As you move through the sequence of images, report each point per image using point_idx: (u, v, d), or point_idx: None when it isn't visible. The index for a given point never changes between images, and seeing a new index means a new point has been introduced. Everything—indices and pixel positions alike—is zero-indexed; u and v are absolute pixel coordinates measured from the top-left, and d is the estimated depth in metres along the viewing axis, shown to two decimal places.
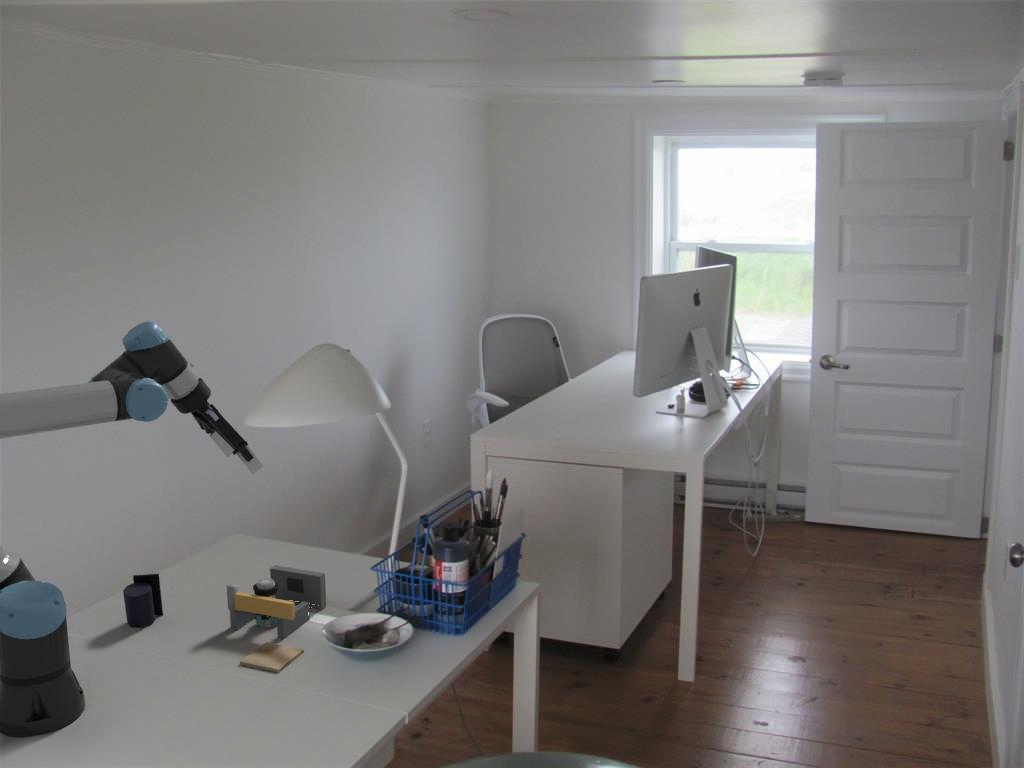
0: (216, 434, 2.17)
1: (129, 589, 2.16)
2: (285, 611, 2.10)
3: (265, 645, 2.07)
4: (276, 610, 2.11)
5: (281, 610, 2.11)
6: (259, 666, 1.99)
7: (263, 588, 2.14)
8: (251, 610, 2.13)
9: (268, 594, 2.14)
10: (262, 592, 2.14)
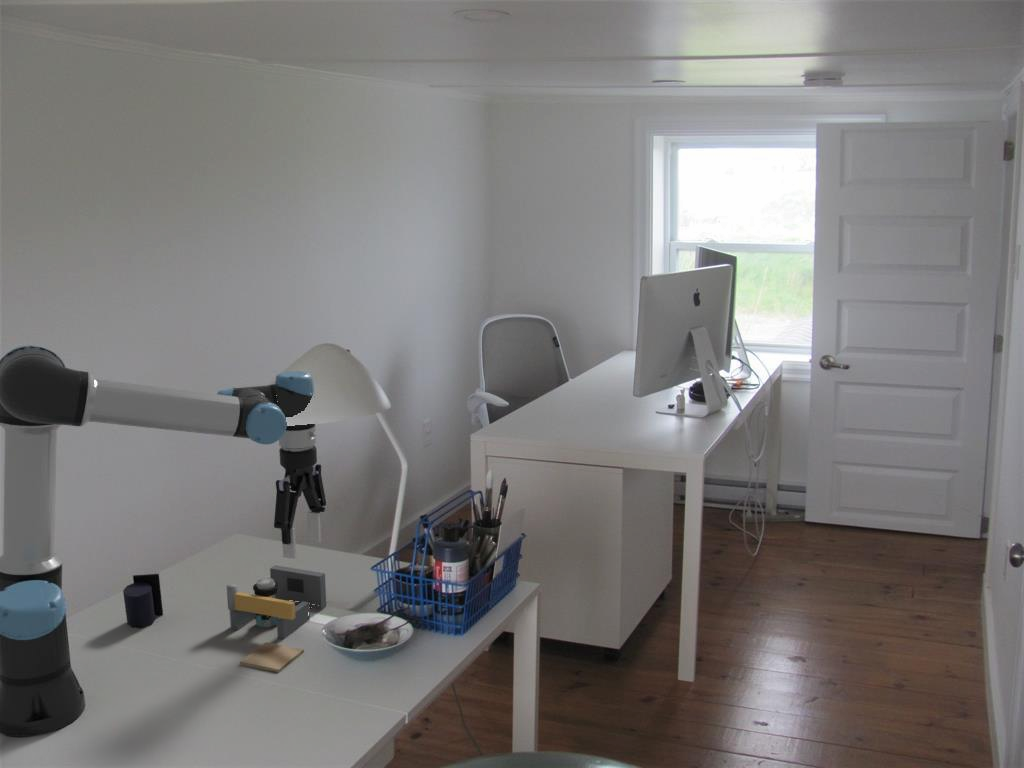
0: (312, 515, 2.17)
1: (129, 589, 2.16)
2: (285, 611, 2.10)
3: (265, 645, 2.07)
4: (276, 610, 2.11)
5: (281, 610, 2.11)
6: (259, 666, 1.99)
7: (263, 588, 2.14)
8: (251, 610, 2.13)
9: (268, 594, 2.14)
10: (262, 592, 2.14)
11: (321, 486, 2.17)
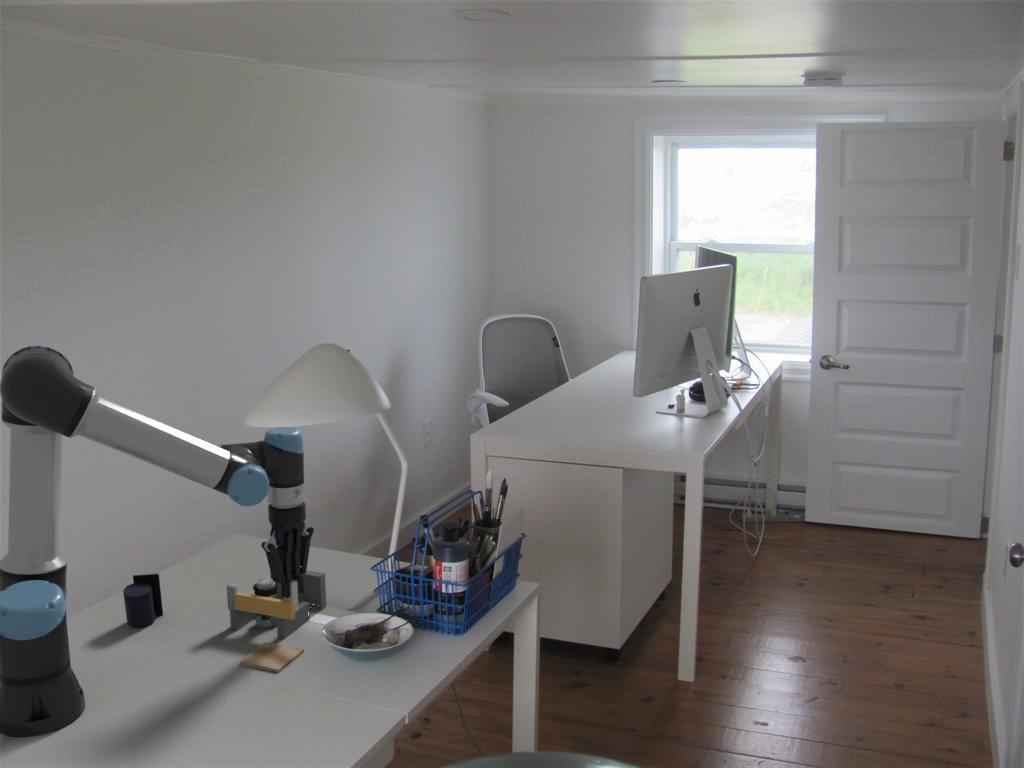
0: None
1: (129, 589, 2.16)
2: (285, 611, 2.10)
3: (265, 645, 2.07)
4: (276, 610, 2.11)
5: (281, 610, 2.11)
6: (259, 666, 1.99)
7: (263, 588, 2.14)
8: (251, 610, 2.13)
9: (268, 594, 2.14)
10: (262, 592, 2.14)
11: (306, 551, 2.13)
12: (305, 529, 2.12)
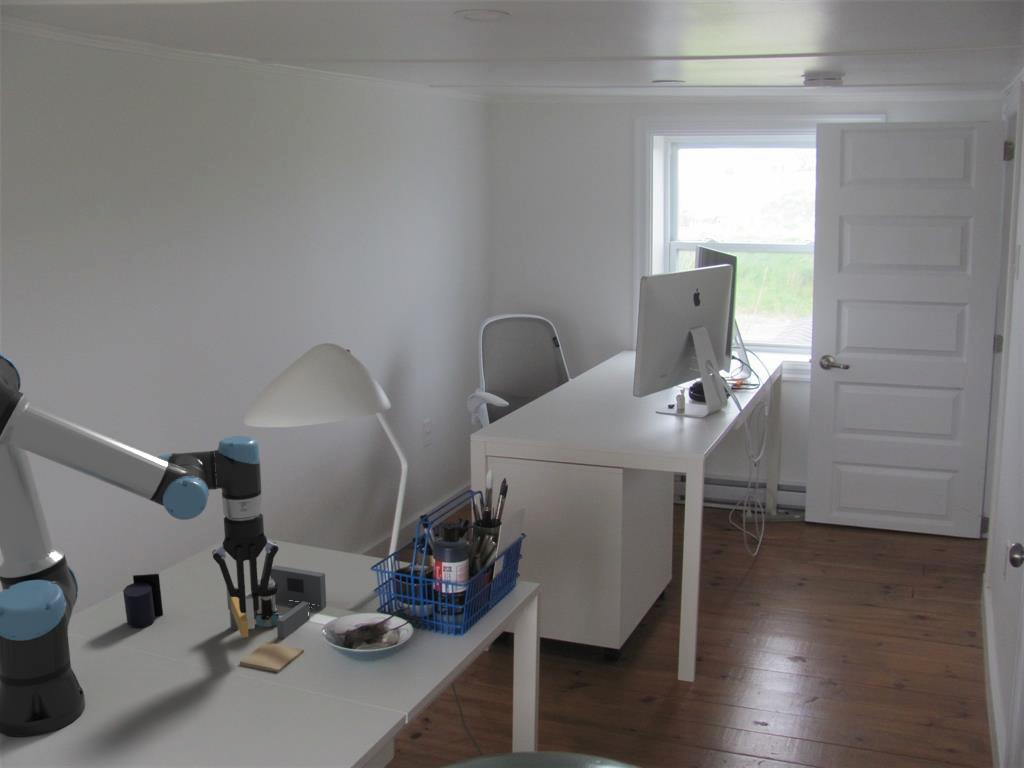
0: None
1: (129, 589, 2.16)
2: (240, 626, 2.03)
3: (265, 645, 2.07)
4: (238, 622, 2.05)
5: (239, 624, 2.04)
6: (259, 666, 1.99)
7: None
8: (234, 615, 2.11)
9: (268, 594, 2.14)
10: None
11: (268, 569, 2.02)
12: (269, 546, 2.02)
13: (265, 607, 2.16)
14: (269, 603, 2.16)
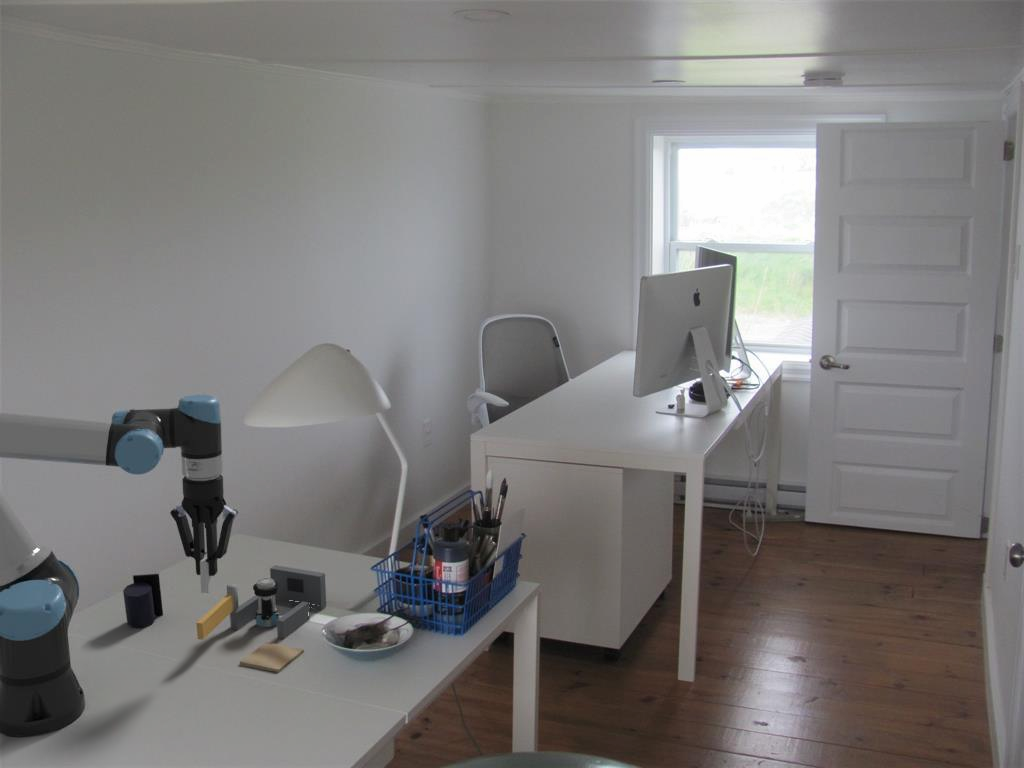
0: None
1: (129, 589, 2.16)
2: None
3: (265, 645, 2.07)
4: None
5: None
6: (259, 666, 1.99)
7: (263, 588, 2.14)
8: None
9: (268, 594, 2.14)
10: (262, 592, 2.14)
11: (222, 535, 1.96)
12: (226, 512, 1.96)
13: (265, 607, 2.16)
14: (269, 603, 2.16)
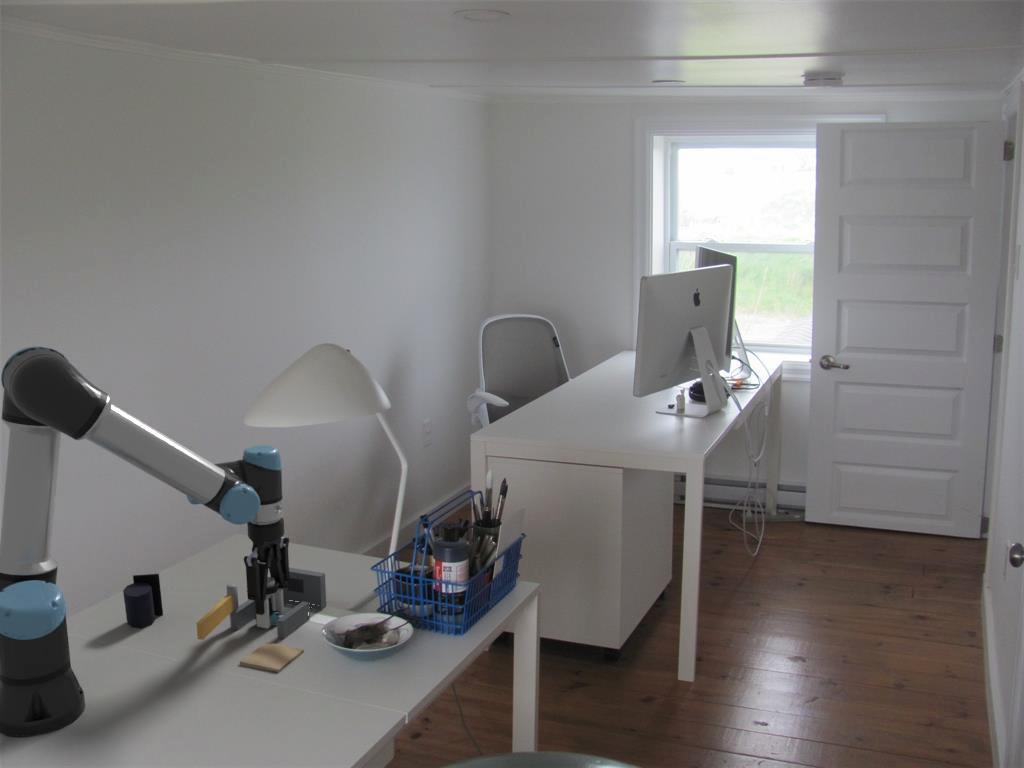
0: None
1: (129, 589, 2.16)
2: None
3: (265, 645, 2.07)
4: None
5: None
6: (259, 666, 1.99)
7: None
8: None
9: (268, 592, 2.15)
10: None
11: (286, 560, 2.20)
12: (281, 541, 2.19)
13: None
14: (269, 602, 2.17)
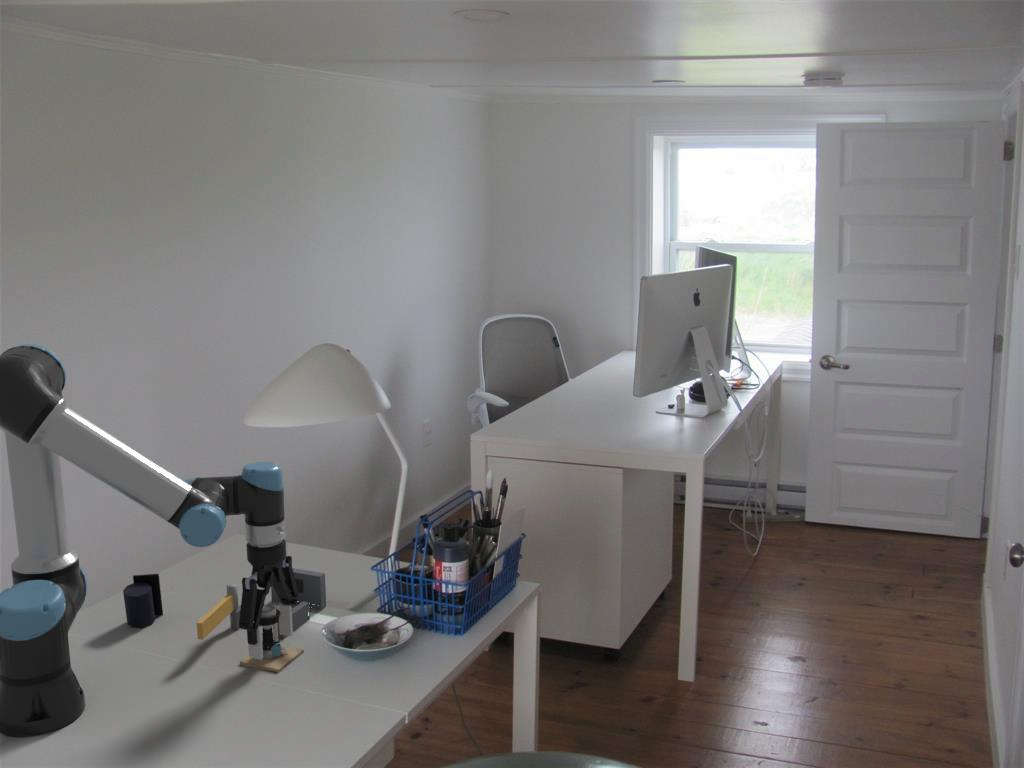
0: (283, 608, 2.06)
1: (129, 589, 2.16)
2: None
3: None
4: None
5: None
6: (259, 666, 1.99)
7: (264, 616, 1.99)
8: None
9: (269, 623, 1.99)
10: (263, 621, 1.99)
11: (292, 578, 2.06)
12: (283, 561, 2.04)
13: (266, 637, 2.01)
14: (270, 632, 2.01)
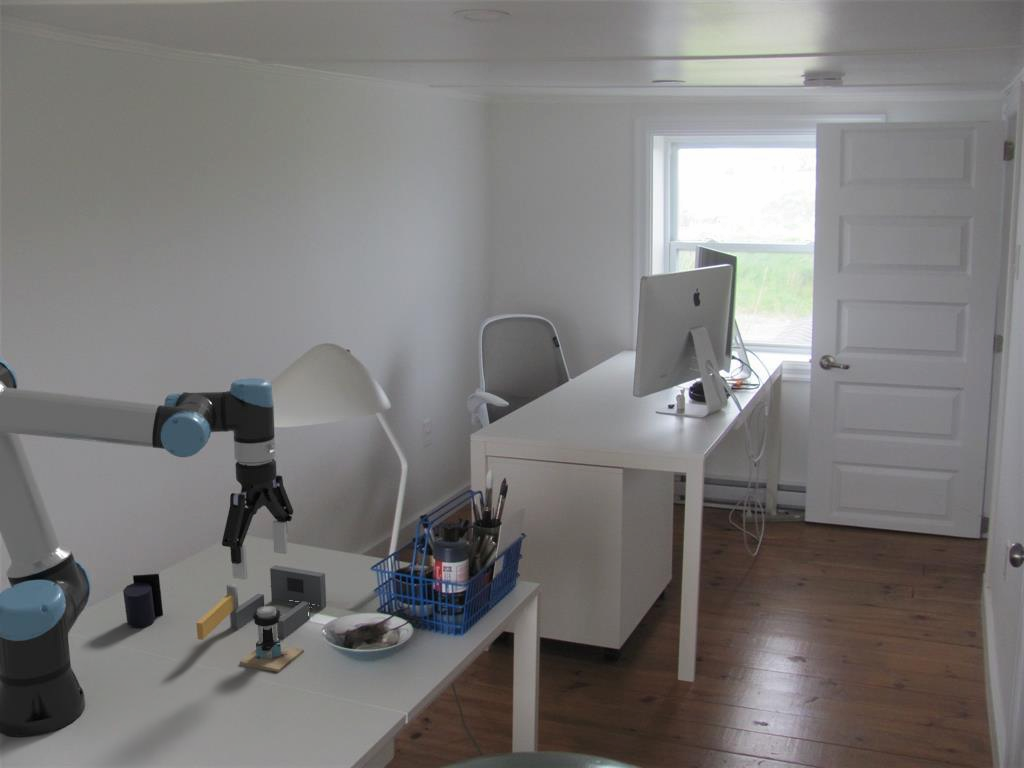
0: (277, 525, 2.02)
1: (129, 589, 2.16)
2: None
3: None
4: None
5: None
6: (259, 666, 1.99)
7: (264, 617, 1.99)
8: None
9: (269, 623, 1.99)
10: (263, 621, 1.99)
11: (285, 496, 2.01)
12: (274, 481, 1.98)
13: (266, 637, 2.01)
14: (270, 633, 2.01)
